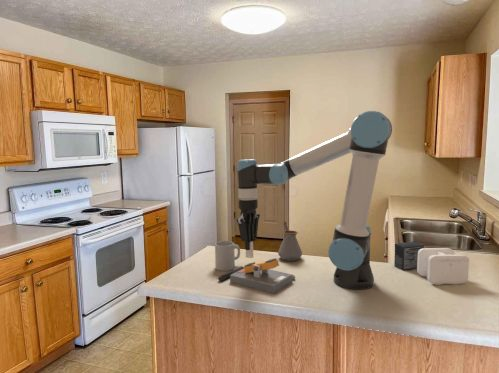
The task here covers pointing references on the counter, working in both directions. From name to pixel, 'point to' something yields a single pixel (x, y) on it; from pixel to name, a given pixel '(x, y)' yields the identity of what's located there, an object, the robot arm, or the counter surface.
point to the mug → (225, 255)
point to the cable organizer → (442, 266)
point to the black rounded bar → (229, 273)
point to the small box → (407, 255)
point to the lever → (262, 265)
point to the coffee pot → (289, 246)
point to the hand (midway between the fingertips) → (249, 257)
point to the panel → (262, 279)
